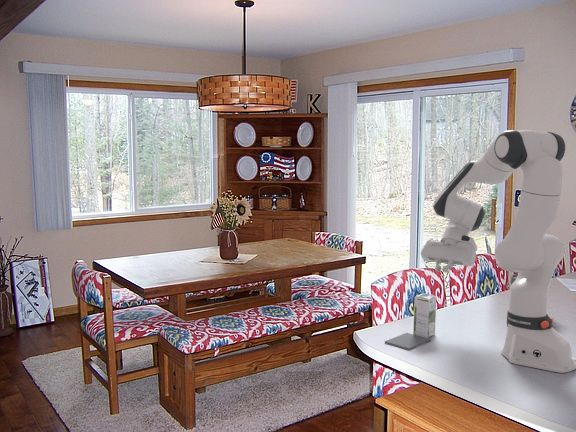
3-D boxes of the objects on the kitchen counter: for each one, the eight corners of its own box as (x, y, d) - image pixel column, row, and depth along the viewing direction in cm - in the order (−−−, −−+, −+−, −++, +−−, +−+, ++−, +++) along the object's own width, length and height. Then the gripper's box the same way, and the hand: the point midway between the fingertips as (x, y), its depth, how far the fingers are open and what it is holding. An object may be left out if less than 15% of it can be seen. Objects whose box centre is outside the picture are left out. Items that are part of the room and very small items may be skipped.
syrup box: (420, 331, 209) (421, 292, 207) (435, 334, 205) (436, 295, 204) (413, 335, 205) (413, 295, 203) (428, 339, 201) (429, 298, 199)
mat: (431, 340, 199) (431, 339, 199) (409, 350, 190) (409, 348, 190) (406, 334, 206) (406, 332, 206) (384, 343, 197) (384, 341, 197)
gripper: (425, 233, 222) (412, 262, 216) (477, 238, 208) (464, 269, 202) (430, 243, 226) (418, 272, 220) (481, 249, 212) (469, 279, 206)
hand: (440, 271), depth 211 cm, fingers closed
